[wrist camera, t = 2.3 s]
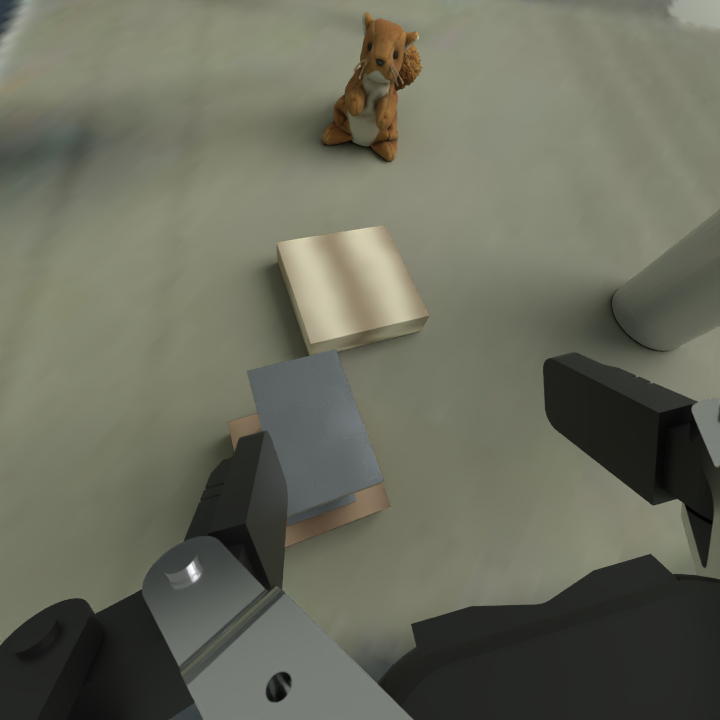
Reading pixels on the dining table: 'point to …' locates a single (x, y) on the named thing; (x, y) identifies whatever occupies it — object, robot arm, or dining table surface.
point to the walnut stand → (364, 506)
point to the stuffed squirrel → (376, 89)
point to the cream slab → (349, 289)
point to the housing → (315, 433)
